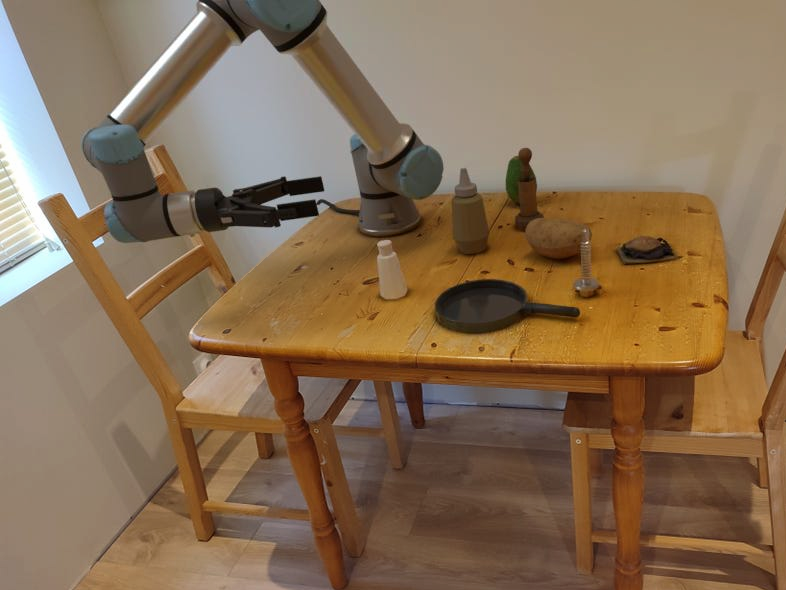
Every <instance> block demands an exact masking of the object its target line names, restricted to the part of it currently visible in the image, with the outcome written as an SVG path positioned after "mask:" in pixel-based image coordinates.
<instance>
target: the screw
mask: <svg viewBox="0 0 786 590" xmlns="http://www.w3.org/2000/svg"><path fill="white" fill-rule="evenodd" d="M591 243H592V242H591V241H590V240H589V229H586V228H585V229H583V230H582V242H581V244H582V245H581V252H580V253H581V254H580V256H581V257H580V259H581V260H580V262H581V263H580V265H581V266H580V271H581V272H580V276H581V277H579V278H577V279H575V281H574V282H572V288H573V289H575V290H576V291H579V296H580V297H584V298H588V297H591V296H594V291H596V290H598V288H599V287H600V281H599V279H597V278H594V277H592V252H591V251H592V246H591V245H592V244H591Z"/></svg>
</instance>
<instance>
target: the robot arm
mask: <svg viewBox="0 0 786 590" xmlns="http://www.w3.org/2000/svg"><path fill="white" fill-rule="evenodd" d="M327 23H328V11H327V9H326V8H325V7H324V5H323V4H322V2H321V1H320V0H198V1H197V2H196V13H195V14H194V15H193V17H192V18H191V19H190V20H189V21H188V22H187V24H186V25H185V26H184V27H183V28H182V29H181V30H180V32H178V34H177V35H176V36H175V37H174V38H173V40H172V41H170V43H169V44H168V45H167V46H166V48H165V49H164V50H163V51H162V52H161V54H159V56H158V57H157V58H156V59H155V60H154V61H153V63H151V65H150V66H149V67H148V68H147V69H146V70H145V72H144V73H143V74H142V75H141V76H140V78H138V80H137V81H136V82H134V84H133V85H132V87H131V88H130V89H129V90H127V92H126V93H125V94H124V95H123V97H122V98H121V99H120V100H119V102H118V103H117V104H115V106H114V107H113V108H112V109H111V110H110V111H109V113H108V114H107V116H105V118H104V119H102V121H100V123H99V124H98V125H97V126H94V127H92V128H90V129H88V130H87V131H86V132H85V133H84V134H83V136H82V138H81V143H80V145H81V151H82V154H83V156H84V157H85V159H86V161H87V162H88V163H89V165H91V166H92V167H93V168H94V169H96V170H97V171H98V172H100V173H101V175H102V177H103V179H104V182H105V184H106V186H107V188H108V191H109V193H110V196H111V199H112V201H110V202H108V203H106V204H105V207H104V209H103V217H104V219H105V226H106V229H107V231H108V232H109V234H110V235H111V237H112V238H113V239H115V241H117V242H118V243H121V244H130V243H131V244H132V243H147V242H151V241H158V240H164V239H171V238H175V237H184V236H189V237H190V238H195V237H196V235H198V234H203V233H205V232H207V233H214V232H215V233H216V232H221V231H226V230H228V229H229V228H231V227H243V228H244V227H245V228H246V227H247V228H269V229H270V228H273V227H274V228H280V227H281V226H282V224H281V222H284V221H292V220H298V219H299V220H300V219H306V218H312V217H319V216H320V213H319V209H318V206H320V205H321V204H324V205H326V206H327V207H330V208H332V209H333V210H334V211H335V212H337V213H342V214H352V215H353V214H354V215H358V227H359V232H361V234H363V235H366V236H369V237H378V238H379V237H392V236H397V235H400V234H405V233H407V232H410V231H412V230H414V229H415V228H417V227H418V226H419V225H420V224H421V220H422V219H421V214H420V211H419V209H418V208H417V205H416V203H415V200H416V201H421V200H425V199H427V198H429V197H430V196H432V195H433V194H434V193H435V192H436V191H437V190H438V189H439V187H440V185H441V183H442V180H443V175H444V174H443V173H444V168H445V167H444V161H443V158H442V156H441V154H440V153H439V151H438V150H437V149H435V148H434V147H432V146H431V145H429V144H425V143H424V142H423V141H422V140H421V138H420V136H418V134H417V132H416V131H415V130H414V129H413V128H412V126H411V125H410V124H408V123H405V122H404V123H403V122H402V123H401V122H399V121H398V119H397V118H396V116H395V115H394V114H393V113H392V111H391V110H390V109H389V107H388V106H387V104H386V103H385V102H384V100H383V99H382V98H381V96H380V95H379V94H378V92H377V91H376V89H375V88H374V87H373V85H372V84H371V83H370V81H369V79H367V77H366V75H364V73H363V72H362V70H361V69H360V68H359V66H358V65H357V63H355V61H354V60H353V58H352V57H351V56H350V54H349V53H348V52H347V50H346V49H345V48H344V46H343V45H342V44H341V42H340V41H339V40H338V38H337V37H336V36H335V34H334V32H332V31H333V30H331V29H330V27H329V26H328V24H327ZM257 31H260V32H261V33H262V34H263V36H264V37H265V38H266V40H268V42H269V43H270V44H271V45H272V46H273V48H274V49H275V51H277V52H278V53H279V54H280V55H281V54H282V55H289V56H291V57H292V58H293V59H294V60H295V61H296V63H297V64H298V65H299V66H300V68H301V69H302V70H303V71H304V73H305V74H306V75H307V76H308V77H309V79H310V80H311V81H312V82H313V84H314V85H315V87H316V88H317V89H318V90H319V92H320V93H322V95H323V96H324V97H325V98H326V100H327V102H329V104H330V105H331V106H332V108H334V110H335V111H336V112H337V113H338V114H339V116H340V117H341V118H342V119H343V121H344V122H345V123H346V124H347V126H348V127H349V128H350V129H351V131H352V132H353V133H354V134H353V135H352V136H351V137H350V138H349V147H350V148H349V149H350V154H351V157H352V163H353V168H354V173H355V176H356V181H357V186H358V190H359V195H360V205H359V209H347V208H341V207H337V206H336V205H335V204H334V203H332V202H330V201H328V200H326V199H323V198H322V199H321V198H320V199H318V200H316V199H315V198H314V199H308V200H300V201H291V202H286V203H279V204H276V206H270V205H264V204H267V203H269V202H271V201H275V200H277V199H279V198H283V197H285V196H288V195H289V197H294V196H302V195H308V194H316V193H323V192H324V193H325V186H324V182H323V177H322V175H321V176H313V177H306V178H298V179H290V180H287V177H286V176H281V177H279V178H277V179H273V180H270V181H266V182H262V183H257V184H255V185H251V186H247V187H242V188H234V189H233V190H232V194H231V195H228V196H226V195H224V194H223V191H222V190H221V189H220V188H218V187H209V188H201V189H197V191H195V190H193V189H192V190H185V191H179V192H172V193H171V192H170V193H166V194H161V193H160V189H159V186H158V184H157V182H156V179H155V177H154V173H153V171H152V168H151V165H150V163H149V159H148V156H147V154H146V151H145V146H147V144H148V143H149V142H150V140H151V139H152V138H153V137H154V136H155V135H156V133H157V132H158V131H159V130H160V129H161V128H162V127H163V126H164V124H166V122H167V121H168V120H169V118H170V117H171V116H172V115H173V114H174V113H175V112H176V111H177V109H178V108H179V107H180V106H181V105H182V103H183V102H184V101H185V100H186V99H187V98H188V97H189V96H190V94H192V92H193V91H194V90H195V89H196V88H197V87H198V86H199V84H200V83H201V82H202V81H203V80H204V78H205V77H206V76H207V75H208V74H209V73H210V71H211V70H212V69H213V68H214V67H215V66H216V65H217V63H218V62H219V61H220V60H221V59H222V58H223V57H224V56H225V54H226V53H227V52H228V51H229V50H230V48H232V47H240V46H241V45H242V44H243V43H244V42H245V41H246V39H248V38H249V37H250V36H251V35H252V34H254V33H256V32H257Z"/></svg>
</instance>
